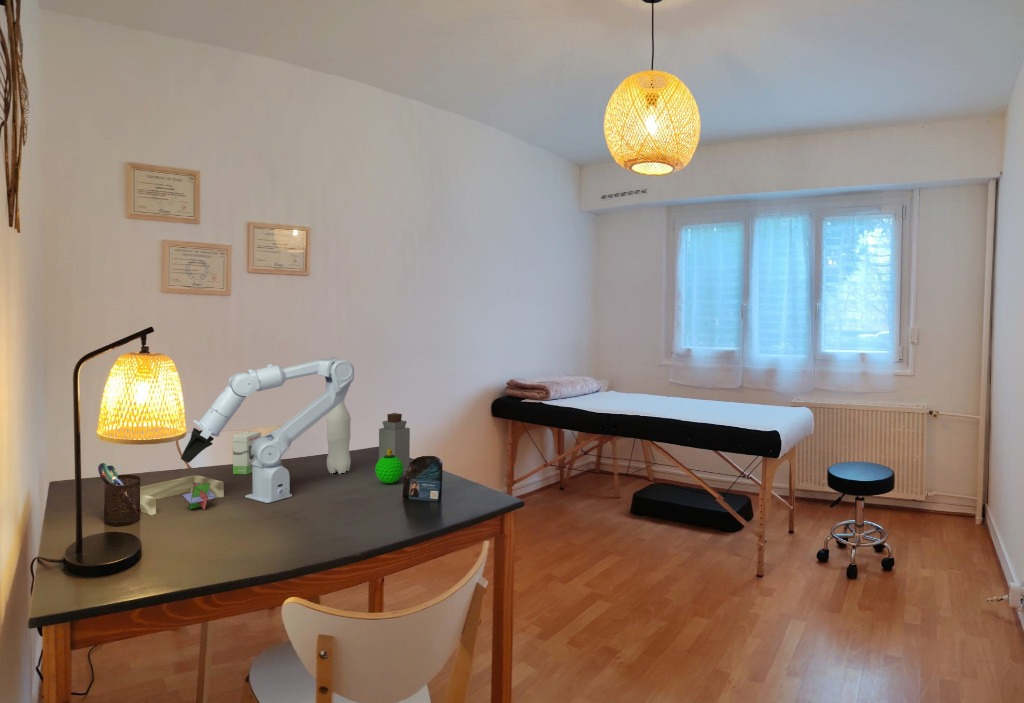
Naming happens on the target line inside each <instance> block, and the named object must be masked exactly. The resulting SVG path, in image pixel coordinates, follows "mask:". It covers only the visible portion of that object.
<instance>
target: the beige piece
mask: <svg viewBox="0 0 1024 703" xmlns="http://www.w3.org/2000/svg"><path fill="white" fill-rule="evenodd" d="M194 482H195V483H198V482H200V484H202V485H203V484H207V483H210V487H209V489H208V490H209V491H210V492H211V493H212V494H213V495H216V497H217V498H219V497H220V498H224V497H225V492H224V490H225V488H224V487H225V484H224V483H225V482H224V481H222V480H218V479H214V478H211V477H206V476H202V475H198V474H193V475H188V476H184V477H180V478H179V477H178V478H176V479H175V478H174V479H170V480H166V481H161V482H156V483H152V484H147V485H142V486H139V487H140V508H141V512H140V513H142V512H143V514H145V513H147V514H146V515H148V514H149V516H154V514H155V515H157V500H156V499H158V500H161V498H162V499H166V498H169V497H173V496H178V495H182V493H183V494H186V493H185V492H187V493H191V488H192V486H193V483H194ZM211 486H212V487H211ZM165 497H166V498H165Z"/></svg>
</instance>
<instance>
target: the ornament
mask: <svg viewBox="0 0 1024 703" xmlns="http://www.w3.org/2000/svg"><path fill="white" fill-rule="evenodd" d="M374 469H375V474H376V475H375V476H376V477H377V478H378V480H379V481H381V482H382V483H384V484H388V483H389V484H394V483H396V482H398V480H400V478H401V477H402V476H403V473H404V472H403V464H402V462H401V460H400V459H398V458H397V457H395V456H394V455H392V449H387V455H385V456H384V457H382V458H381V459H380V460H379V459H378V460H377V463H376V464H375V468H374ZM394 481H395V482H394Z"/></svg>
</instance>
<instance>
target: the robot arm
mask: <svg viewBox="0 0 1024 703" xmlns="http://www.w3.org/2000/svg"><path fill="white" fill-rule="evenodd" d="M354 368H355V367H354V365H353V363H352V362H350V360H347V359H341V358H339V357H335V356H334V357H330V358H318V359H314V360H309V361H306V362H302V363H298V364H295V365H291V366H288V367H284V368H282V367H281V366H280V365H277V364H276V365H273V364H272V363H271V364H267V365H266V367H263V368H258V369H254V370H253V369H252V368H251V369H248V370H247V373H246V372H242V371H241V372H237V373H235V374H234V375H232V376H230V377H229V378H228V379H229V380H228V385H227V386H226V387H225V388H224V390H223V391H222V392H220V394H219V395H218V397H216V399H215V401H214V402H213V403H212V404H211V405H210V407H209V408H208V409H207V411H206V412H205V413H204V415H203V416H202V417H201V418H200V420H197V419H196V418H194V419H193V421H192V422H193V423H194V424H195V425H197V426H198V428H200V430H199V429H198V428H195V427H193V428H192V431H191V436H190V439H189V441H188V443H187V444H186V447H184V450H183V452H182V455H181V457H180V460H182V461H184V462H185V463H187V464H190V462H191V461H193V460H194V459H195V458H196V457H197V456H198V455H199V454H200V453H201V452H203V451H204V450H206V449H207V448H209V447H210V446H212V445H213V441H214V439H215V437H216V438H217V437H219V436H220V433H221V432H222V431H223V430H224V428H225V427H226V425H227V424H229V421H230V420H231V419H232V417H233V416H234V415H235V413H236V412H237V411H238V410H239V408H240V407H241V406H242V403H243V402H244V401H245V399H247V397H249V396H252V395H253V394H254V393H255V392H261V391H265V390H271V389H275V388H278V387H282V386H283V385H284V383H285V382H286V381H287V380H291V379H299V378H303V377H307V376H312V375H319V376H322V377H324V378H325V391H324V392H323V393H321V395H320V396H318V397H317V398H315V399H314V400H313V401H312V402H310V403H309V404H308V405H307V406H306V407H304V408H302V410H300V411H299V412H298V413H297V414H296V415H294V416H293V417H291V419H289V420H288V421H287V422H285V423H284V424H283V425H282V426H280V427H279V428H277V429H274V430H272V431H270V432H269V433H267V434H266V435H261V437H259V438H257V439H256V440H255V441H254V443H253V444H252V453H253V455H254V456H255V457H256V458H255V460H254V462H253V463H252V472H251V473H252V475H251V476H252V481H251V482H252V485H251V486H252V488H251V489H252V493H250V494H246V495H244V496H245V498H246V499H250V500H254V501H258V502H261V503H265V504H270V503H273V502H277V501H280V500H284V499H286V498H291V497H292V496H293V494H292V493H290V487H291V486H290V477H291V476H290V472H289V470H288V469H287V468H286V467H284V466H283V464H282V460H281V459H282V457H283V456H284V454H285V453H286V452H287V451H288V450H290V447H291V445H292V443H293V442H294V441H295V440H297V439H298V438H300V436H302V435H303V434H304V433H305V432H307V431H308V430H309V429H310V428H312V427H313V426H315V424H316V423H318V422H319V421H321V419H323V418H324V417H325V416H326V415H328V414H329V412H330V411H331V410H332V409H334V408H335V407H336V406H337V405H339V404H340V403H341V402H342V401H343V400H344V399H345V398H346V396H347V393H348V392H349V389H350V387H351V384H352V383H353V381H355V369H354ZM344 401H345V400H344Z"/></svg>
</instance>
